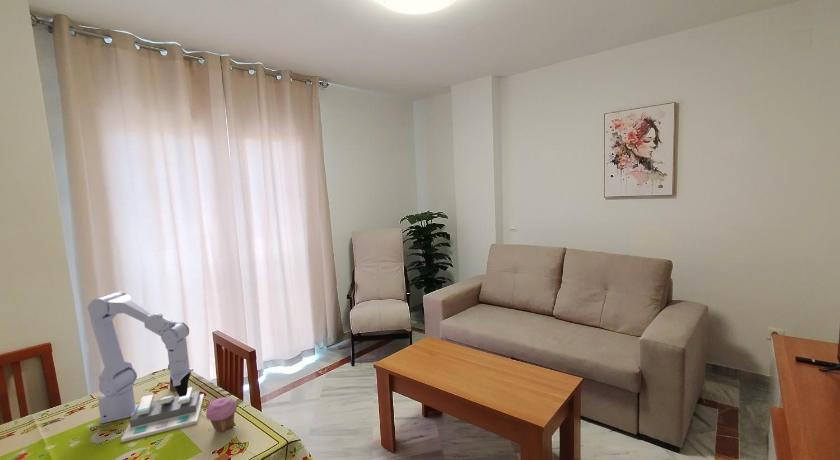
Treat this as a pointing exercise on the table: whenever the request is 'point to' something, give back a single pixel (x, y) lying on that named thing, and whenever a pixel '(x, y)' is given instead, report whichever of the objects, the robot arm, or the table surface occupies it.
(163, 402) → the middle switch
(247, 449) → the table surface
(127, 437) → the switch board
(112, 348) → the robot arm
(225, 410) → the cupcake
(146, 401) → the left switch
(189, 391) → the right switch
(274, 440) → the table surface
